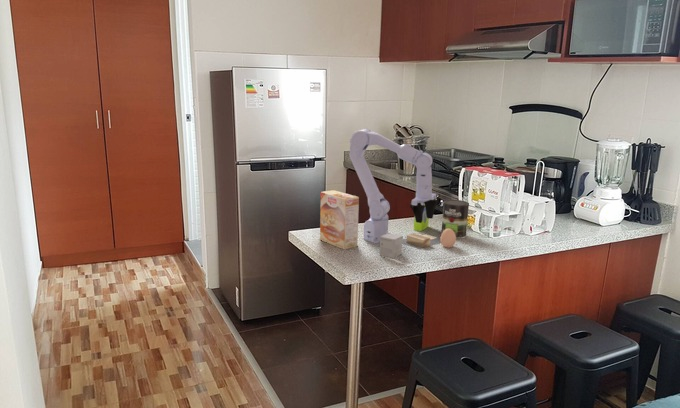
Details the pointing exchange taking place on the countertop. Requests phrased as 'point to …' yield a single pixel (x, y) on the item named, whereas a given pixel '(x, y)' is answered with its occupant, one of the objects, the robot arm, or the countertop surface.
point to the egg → (448, 238)
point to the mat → (433, 239)
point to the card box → (418, 240)
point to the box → (424, 221)
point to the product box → (390, 245)
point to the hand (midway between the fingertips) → (424, 220)
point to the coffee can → (455, 217)
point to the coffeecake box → (339, 219)
